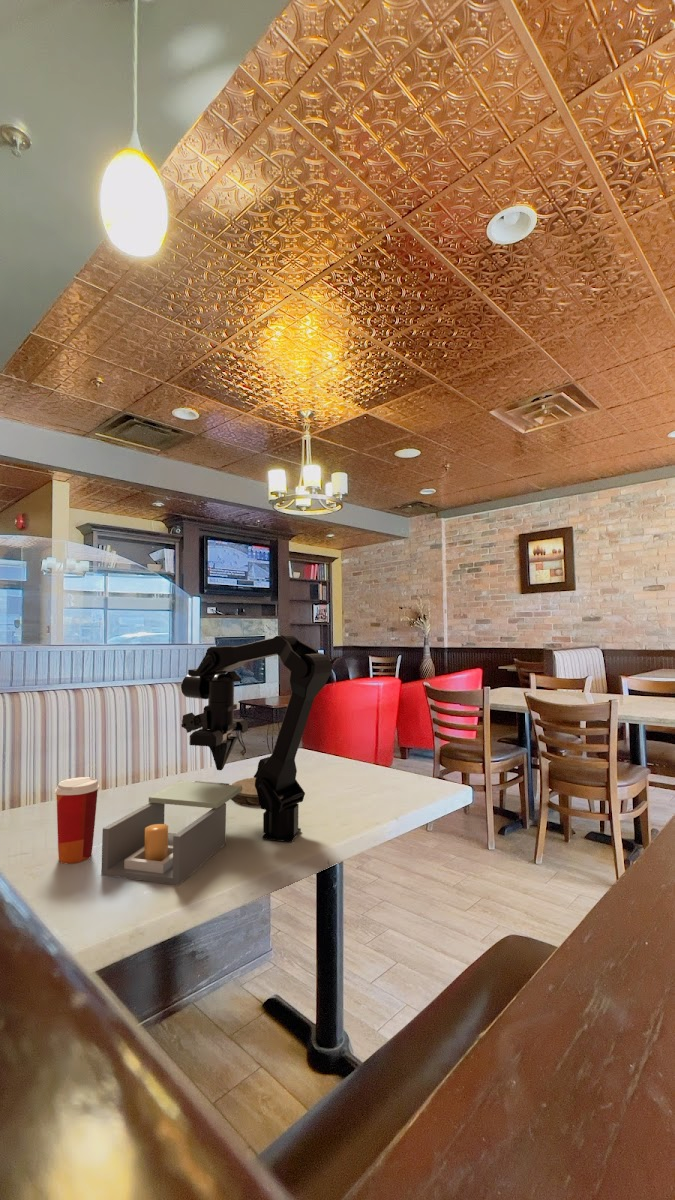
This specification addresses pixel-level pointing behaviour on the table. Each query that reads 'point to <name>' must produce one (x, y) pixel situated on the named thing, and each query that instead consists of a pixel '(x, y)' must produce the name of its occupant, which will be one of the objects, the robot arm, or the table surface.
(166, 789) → the lid
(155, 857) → the orange rounded cylinder
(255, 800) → the wood slice coaster
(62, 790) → the paper cup
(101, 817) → the table surface
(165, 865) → the housing
